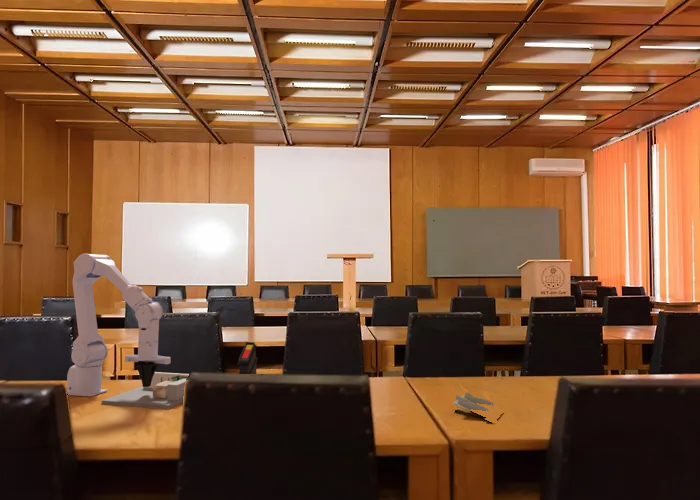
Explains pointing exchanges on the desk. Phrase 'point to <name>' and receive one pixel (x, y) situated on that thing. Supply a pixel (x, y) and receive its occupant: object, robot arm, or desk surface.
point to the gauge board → (145, 394)
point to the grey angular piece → (471, 402)
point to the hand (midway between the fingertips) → (146, 386)
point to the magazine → (248, 359)
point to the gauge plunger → (162, 388)
